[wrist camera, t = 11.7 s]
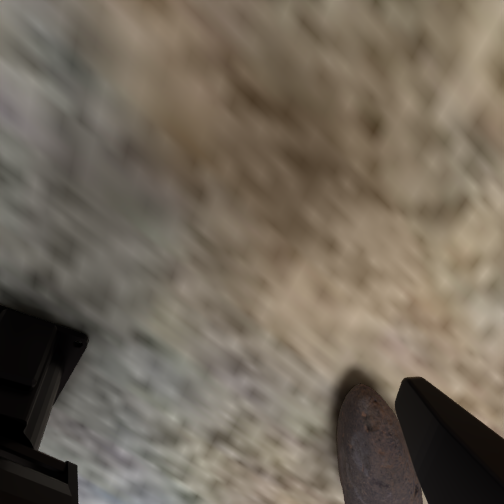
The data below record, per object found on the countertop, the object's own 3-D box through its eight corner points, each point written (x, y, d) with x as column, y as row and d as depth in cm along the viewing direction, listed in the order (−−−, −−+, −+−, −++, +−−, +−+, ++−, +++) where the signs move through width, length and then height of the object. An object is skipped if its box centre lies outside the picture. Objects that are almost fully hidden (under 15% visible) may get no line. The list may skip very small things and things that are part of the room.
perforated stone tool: (317, 370, 28) (352, 468, 22) (393, 352, 28) (448, 444, 22) (335, 491, 36) (364, 587, 30) (394, 476, 36) (436, 569, 30)
